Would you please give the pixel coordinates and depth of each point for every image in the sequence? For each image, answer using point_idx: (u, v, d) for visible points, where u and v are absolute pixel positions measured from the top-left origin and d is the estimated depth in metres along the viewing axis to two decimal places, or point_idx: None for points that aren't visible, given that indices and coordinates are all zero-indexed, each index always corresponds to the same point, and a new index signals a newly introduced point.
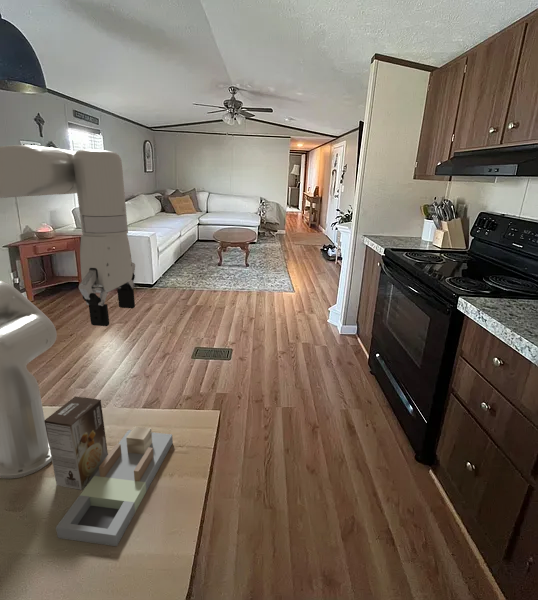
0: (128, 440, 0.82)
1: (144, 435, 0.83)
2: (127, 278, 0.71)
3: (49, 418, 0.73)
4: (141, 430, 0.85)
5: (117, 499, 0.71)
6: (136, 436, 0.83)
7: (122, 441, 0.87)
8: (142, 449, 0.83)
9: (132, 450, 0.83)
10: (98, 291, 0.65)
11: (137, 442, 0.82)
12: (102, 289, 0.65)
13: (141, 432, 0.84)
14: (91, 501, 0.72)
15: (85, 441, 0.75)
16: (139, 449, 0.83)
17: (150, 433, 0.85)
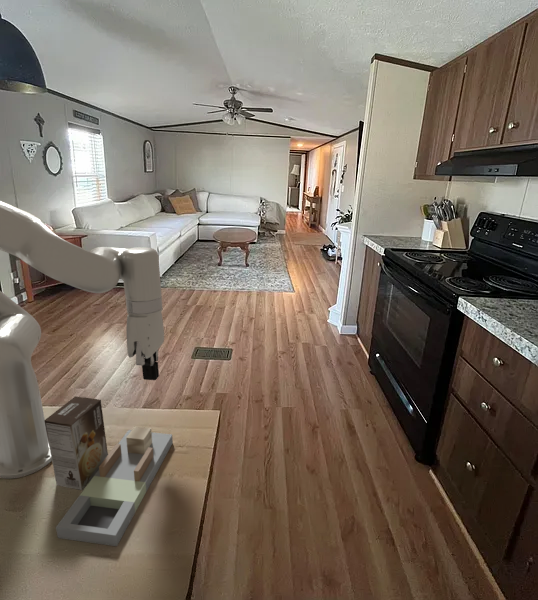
0: (128, 440, 0.82)
1: (144, 435, 0.83)
2: (161, 343, 0.87)
3: (49, 418, 0.73)
4: (141, 430, 0.85)
5: (117, 499, 0.71)
6: (136, 436, 0.83)
7: (122, 441, 0.87)
8: (142, 449, 0.83)
9: (132, 450, 0.83)
10: None
11: (137, 442, 0.82)
12: (149, 357, 0.83)
13: (141, 432, 0.84)
14: (91, 501, 0.72)
15: (85, 441, 0.75)
16: (139, 449, 0.83)
17: (150, 433, 0.85)
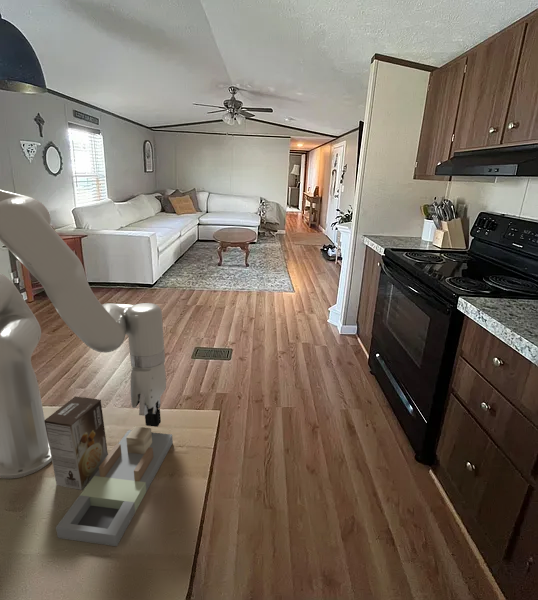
0: (128, 440, 0.82)
1: (144, 435, 0.83)
2: (163, 390, 0.91)
3: (49, 418, 0.73)
4: (141, 430, 0.85)
5: (117, 499, 0.71)
6: (136, 436, 0.83)
7: (122, 441, 0.87)
8: (142, 449, 0.83)
9: (132, 450, 0.83)
10: None
11: (137, 442, 0.82)
12: None
13: (141, 432, 0.84)
14: (91, 501, 0.72)
15: (85, 441, 0.75)
16: (139, 449, 0.83)
17: (150, 433, 0.85)
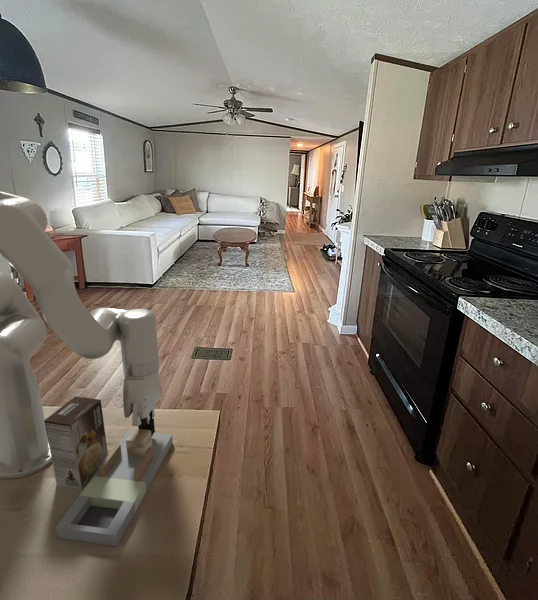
0: (128, 443, 0.82)
1: (144, 438, 0.82)
2: (157, 399, 0.87)
3: (49, 418, 0.73)
4: (141, 432, 0.84)
5: (117, 499, 0.71)
6: (136, 438, 0.82)
7: (122, 441, 0.87)
8: (142, 452, 0.82)
9: (132, 453, 0.82)
10: None
11: (137, 445, 0.81)
12: None
13: (140, 435, 0.83)
14: (91, 501, 0.72)
15: (85, 441, 0.75)
16: (139, 452, 0.82)
17: (150, 435, 0.85)
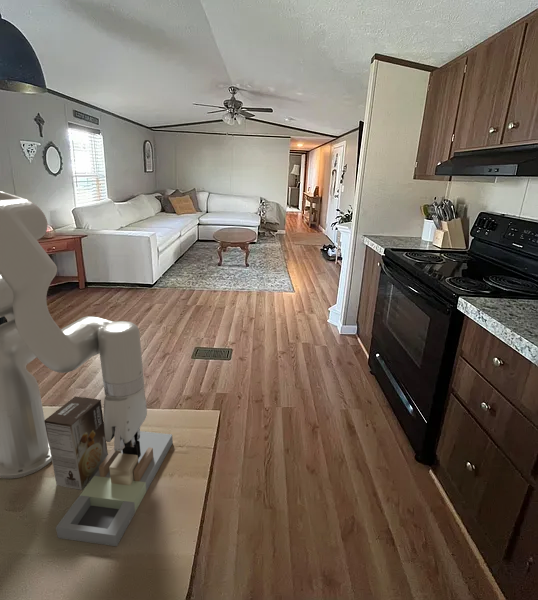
0: (111, 470, 0.74)
1: (130, 464, 0.75)
2: (142, 420, 0.80)
3: (49, 418, 0.73)
4: (126, 457, 0.76)
5: (117, 499, 0.71)
6: (121, 465, 0.74)
7: None
8: (127, 480, 0.74)
9: (116, 481, 0.75)
10: None
11: (122, 472, 0.74)
12: None
13: (126, 460, 0.75)
14: (91, 501, 0.72)
15: (85, 441, 0.75)
16: (124, 480, 0.74)
17: (136, 461, 0.77)
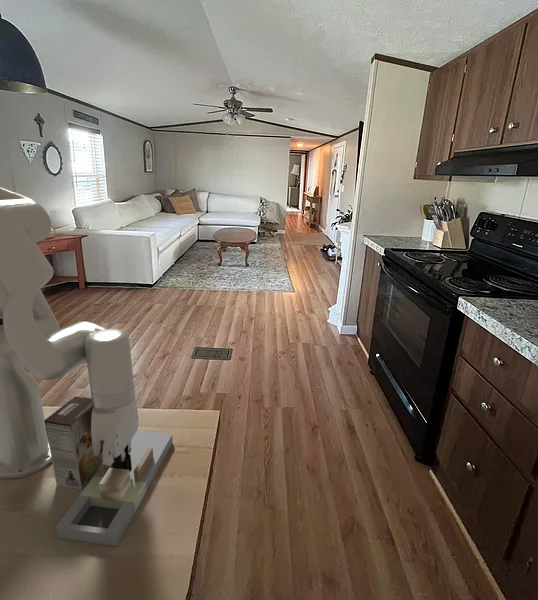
0: (101, 486, 0.70)
1: (121, 480, 0.71)
2: (134, 432, 0.76)
3: (49, 418, 0.73)
4: (117, 473, 0.72)
5: None
6: (111, 481, 0.70)
7: None
8: (118, 496, 0.70)
9: (106, 497, 0.71)
10: None
11: (112, 489, 0.70)
12: None
13: (116, 476, 0.71)
14: (91, 501, 0.72)
15: (85, 441, 0.75)
16: (115, 496, 0.70)
17: (128, 476, 0.73)
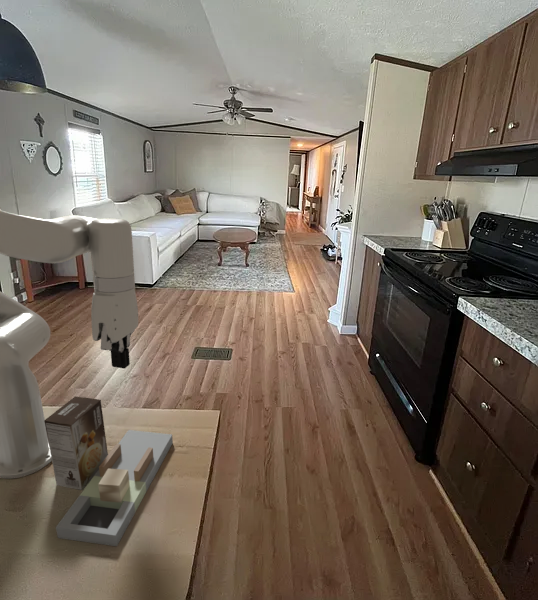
0: (101, 487, 0.70)
1: (120, 480, 0.71)
2: (133, 327, 0.78)
3: (49, 418, 0.73)
4: (116, 473, 0.72)
5: None
6: (110, 481, 0.70)
7: (122, 441, 0.87)
8: (118, 496, 0.70)
9: (106, 498, 0.71)
10: None
11: (112, 489, 0.70)
12: (117, 341, 0.75)
13: (116, 476, 0.71)
14: (91, 501, 0.72)
15: (85, 441, 0.75)
16: (114, 496, 0.70)
17: (127, 476, 0.73)
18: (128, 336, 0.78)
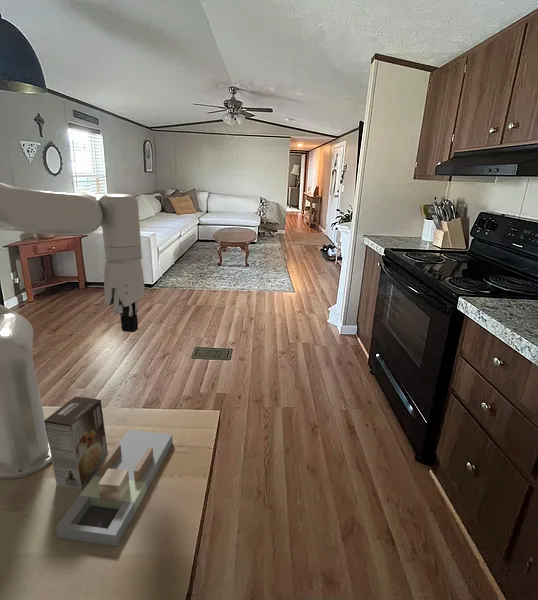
0: (101, 487, 0.70)
1: (120, 480, 0.71)
2: (140, 294, 0.86)
3: (49, 418, 0.73)
4: (116, 473, 0.72)
5: None
6: (110, 481, 0.70)
7: (122, 441, 0.87)
8: (118, 496, 0.70)
9: (106, 498, 0.71)
10: None
11: (112, 489, 0.70)
12: (127, 306, 0.83)
13: (116, 476, 0.71)
14: (91, 501, 0.72)
15: (85, 441, 0.75)
16: (114, 496, 0.70)
17: (127, 476, 0.73)
18: (136, 303, 0.86)
